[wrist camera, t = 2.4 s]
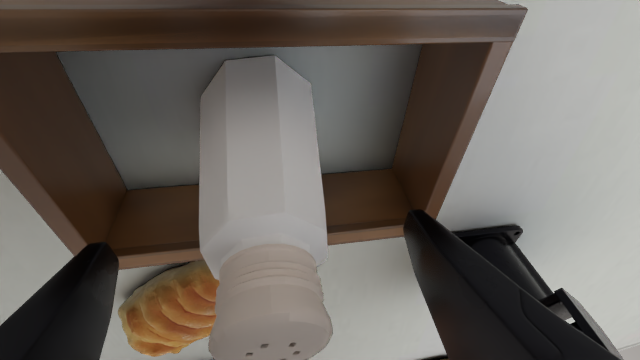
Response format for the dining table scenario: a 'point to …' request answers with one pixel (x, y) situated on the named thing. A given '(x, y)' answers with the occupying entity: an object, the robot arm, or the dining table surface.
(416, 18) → the wooden box
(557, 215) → the dining table surface
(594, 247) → the dining table surface
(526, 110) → the dining table surface
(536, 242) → the dining table surface
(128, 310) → the pastry
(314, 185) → the pepper shaker
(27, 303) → the robot arm
